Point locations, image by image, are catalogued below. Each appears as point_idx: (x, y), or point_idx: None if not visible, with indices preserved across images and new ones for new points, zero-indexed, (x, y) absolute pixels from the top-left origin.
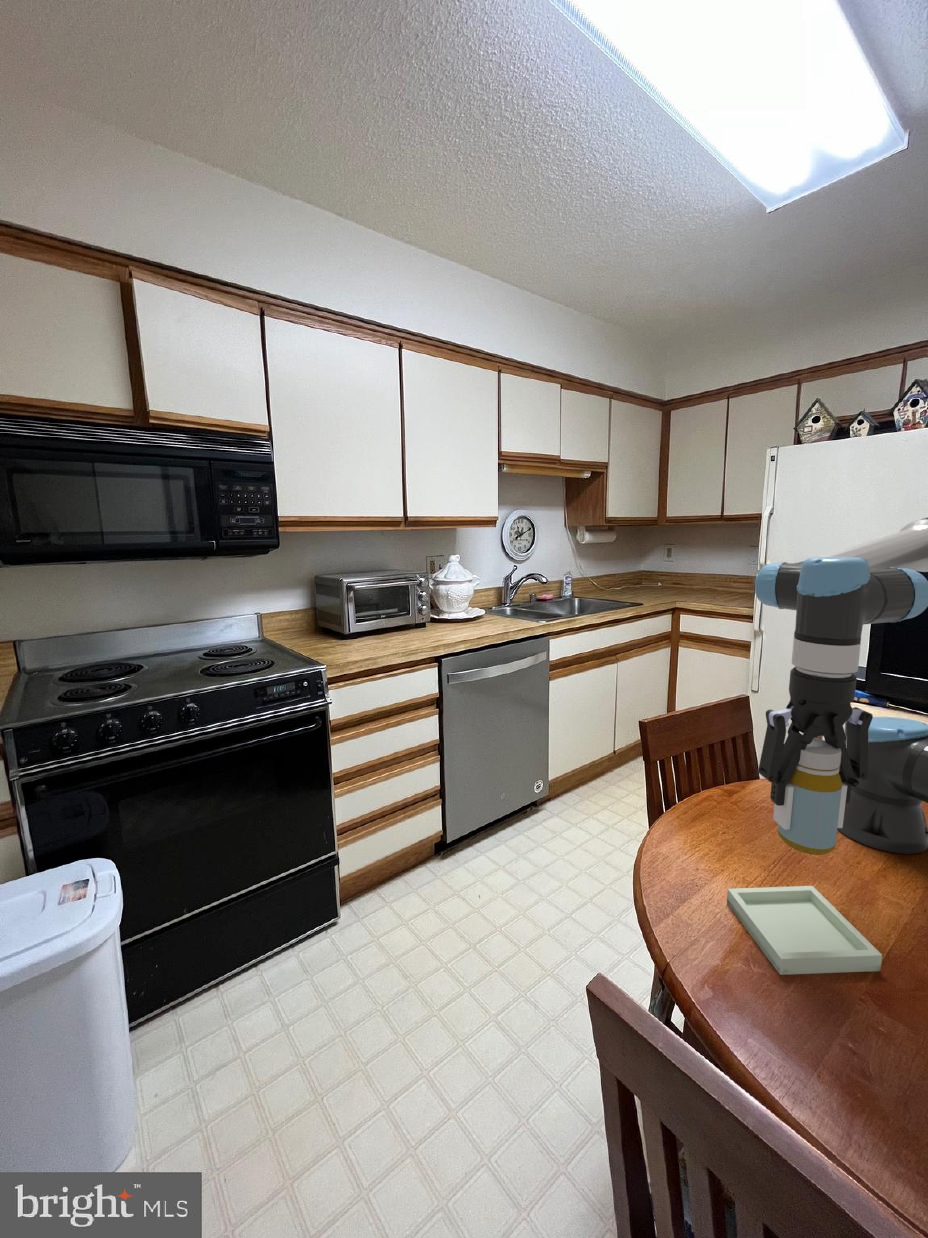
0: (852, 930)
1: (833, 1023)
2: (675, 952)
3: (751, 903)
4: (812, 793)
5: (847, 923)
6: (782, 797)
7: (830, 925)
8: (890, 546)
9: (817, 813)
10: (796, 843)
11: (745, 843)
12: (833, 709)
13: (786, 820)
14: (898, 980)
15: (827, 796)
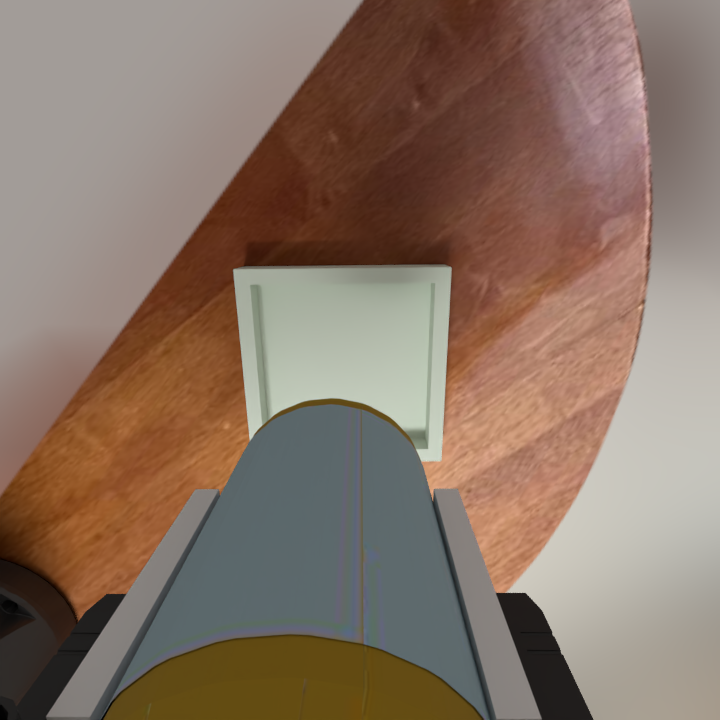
0: (250, 336)
1: (415, 152)
2: (614, 325)
3: None
4: (405, 638)
5: (247, 355)
6: (518, 641)
7: (271, 370)
8: None
9: (362, 507)
10: (409, 442)
11: None
12: None
13: (462, 519)
14: (223, 244)
15: (299, 600)
